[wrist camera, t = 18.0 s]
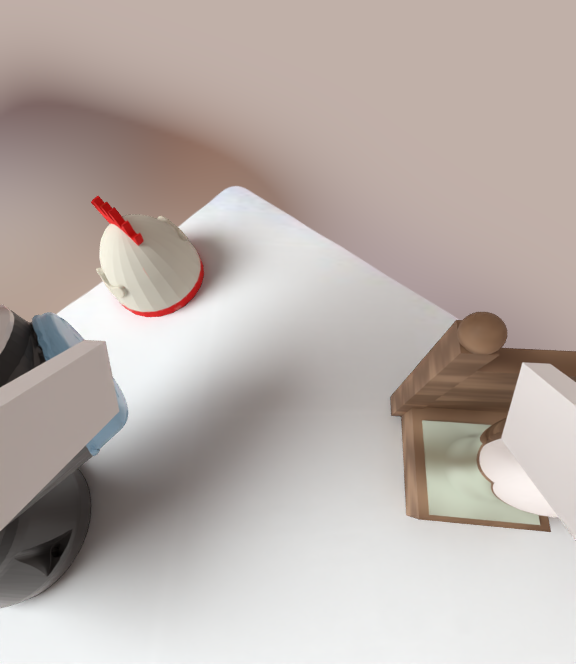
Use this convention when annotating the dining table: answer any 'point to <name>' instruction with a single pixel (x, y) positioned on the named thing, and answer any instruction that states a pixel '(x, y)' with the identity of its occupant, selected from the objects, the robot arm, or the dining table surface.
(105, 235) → the kitchen timer
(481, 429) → the wooden l-shaped piece
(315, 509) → the dining table surface
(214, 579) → the dining table surface
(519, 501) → the white tumbler cup
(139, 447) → the dining table surface
